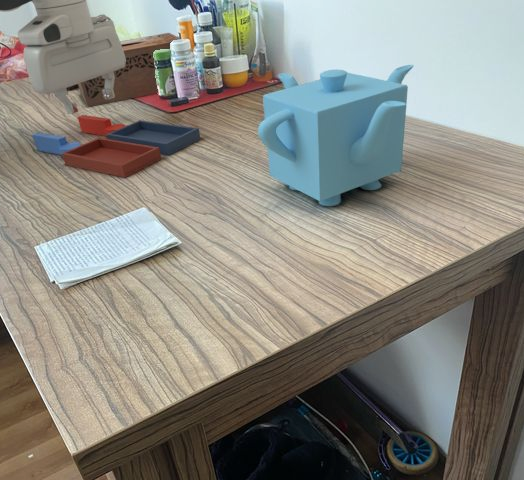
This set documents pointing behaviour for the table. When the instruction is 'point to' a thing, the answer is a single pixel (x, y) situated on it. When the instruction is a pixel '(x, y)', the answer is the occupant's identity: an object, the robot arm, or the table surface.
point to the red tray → (112, 156)
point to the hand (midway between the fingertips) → (92, 105)
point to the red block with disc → (97, 125)
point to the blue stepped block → (53, 143)
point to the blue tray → (157, 135)
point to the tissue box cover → (130, 71)
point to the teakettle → (335, 132)
